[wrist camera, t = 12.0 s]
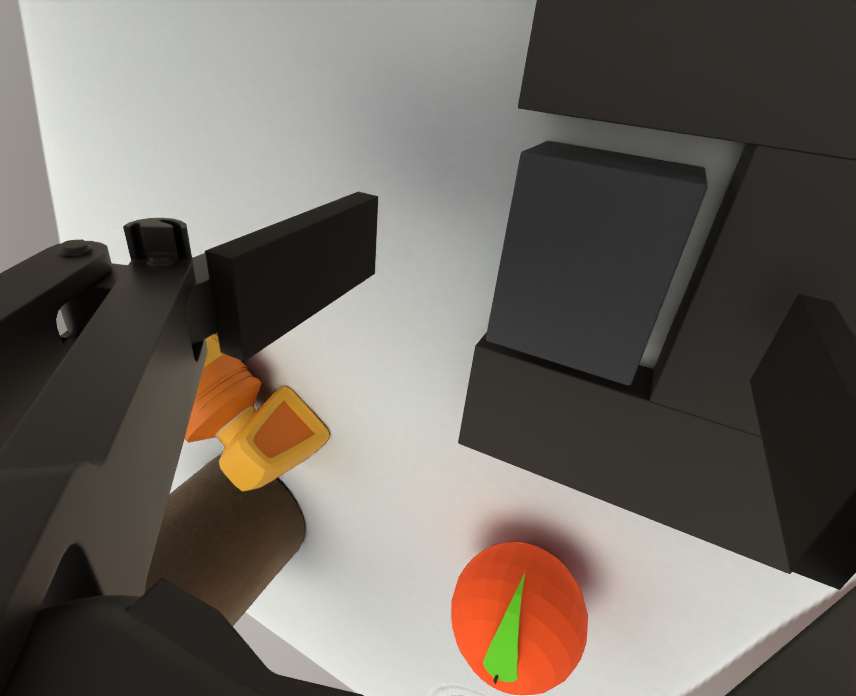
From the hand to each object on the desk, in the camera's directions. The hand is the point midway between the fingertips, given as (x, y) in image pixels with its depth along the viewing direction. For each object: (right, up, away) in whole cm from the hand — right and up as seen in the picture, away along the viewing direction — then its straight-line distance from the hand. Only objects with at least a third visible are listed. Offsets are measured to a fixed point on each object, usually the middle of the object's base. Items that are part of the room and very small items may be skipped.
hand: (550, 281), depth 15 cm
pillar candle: (-17, -14, +24) cm, 33 cm away
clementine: (+2, -14, +13) cm, 19 cm away
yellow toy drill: (-15, -4, +18) cm, 23 cm away
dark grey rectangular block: (+3, +2, +4) cm, 6 cm away
